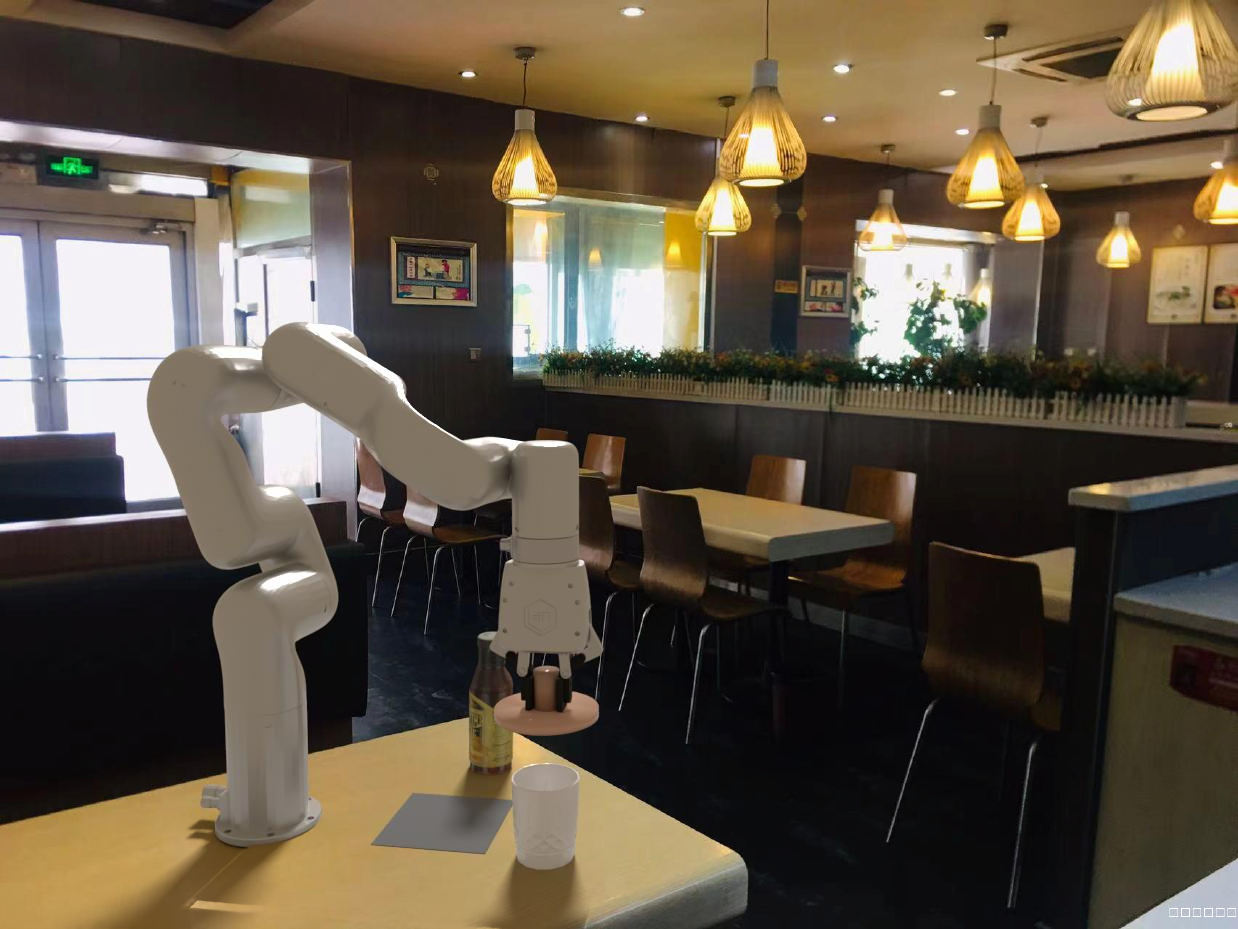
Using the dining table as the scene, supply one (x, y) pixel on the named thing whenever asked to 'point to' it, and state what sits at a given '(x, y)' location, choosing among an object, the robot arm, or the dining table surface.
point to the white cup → (545, 814)
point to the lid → (546, 709)
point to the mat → (445, 823)
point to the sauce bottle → (489, 712)
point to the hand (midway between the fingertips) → (546, 706)
